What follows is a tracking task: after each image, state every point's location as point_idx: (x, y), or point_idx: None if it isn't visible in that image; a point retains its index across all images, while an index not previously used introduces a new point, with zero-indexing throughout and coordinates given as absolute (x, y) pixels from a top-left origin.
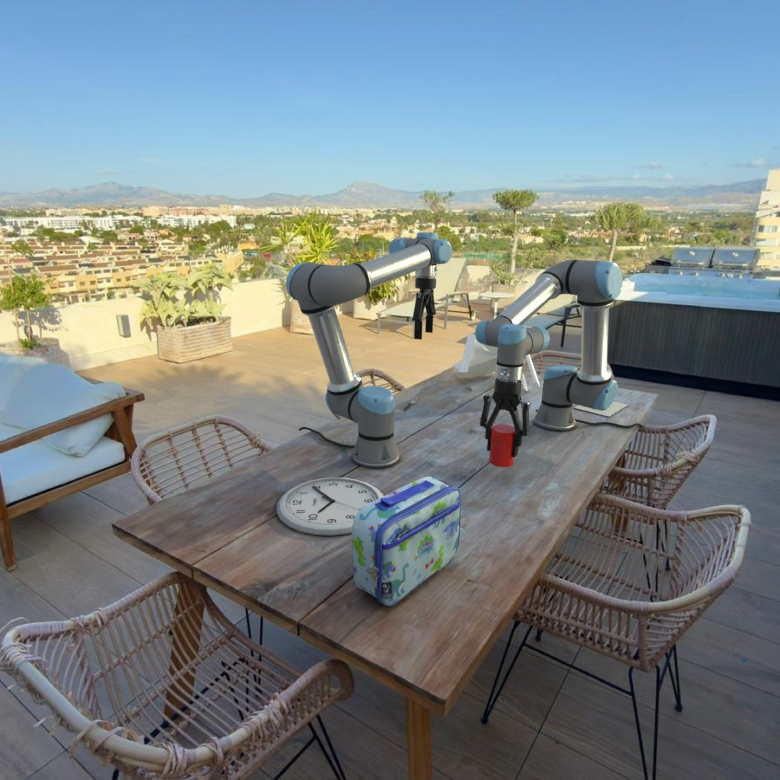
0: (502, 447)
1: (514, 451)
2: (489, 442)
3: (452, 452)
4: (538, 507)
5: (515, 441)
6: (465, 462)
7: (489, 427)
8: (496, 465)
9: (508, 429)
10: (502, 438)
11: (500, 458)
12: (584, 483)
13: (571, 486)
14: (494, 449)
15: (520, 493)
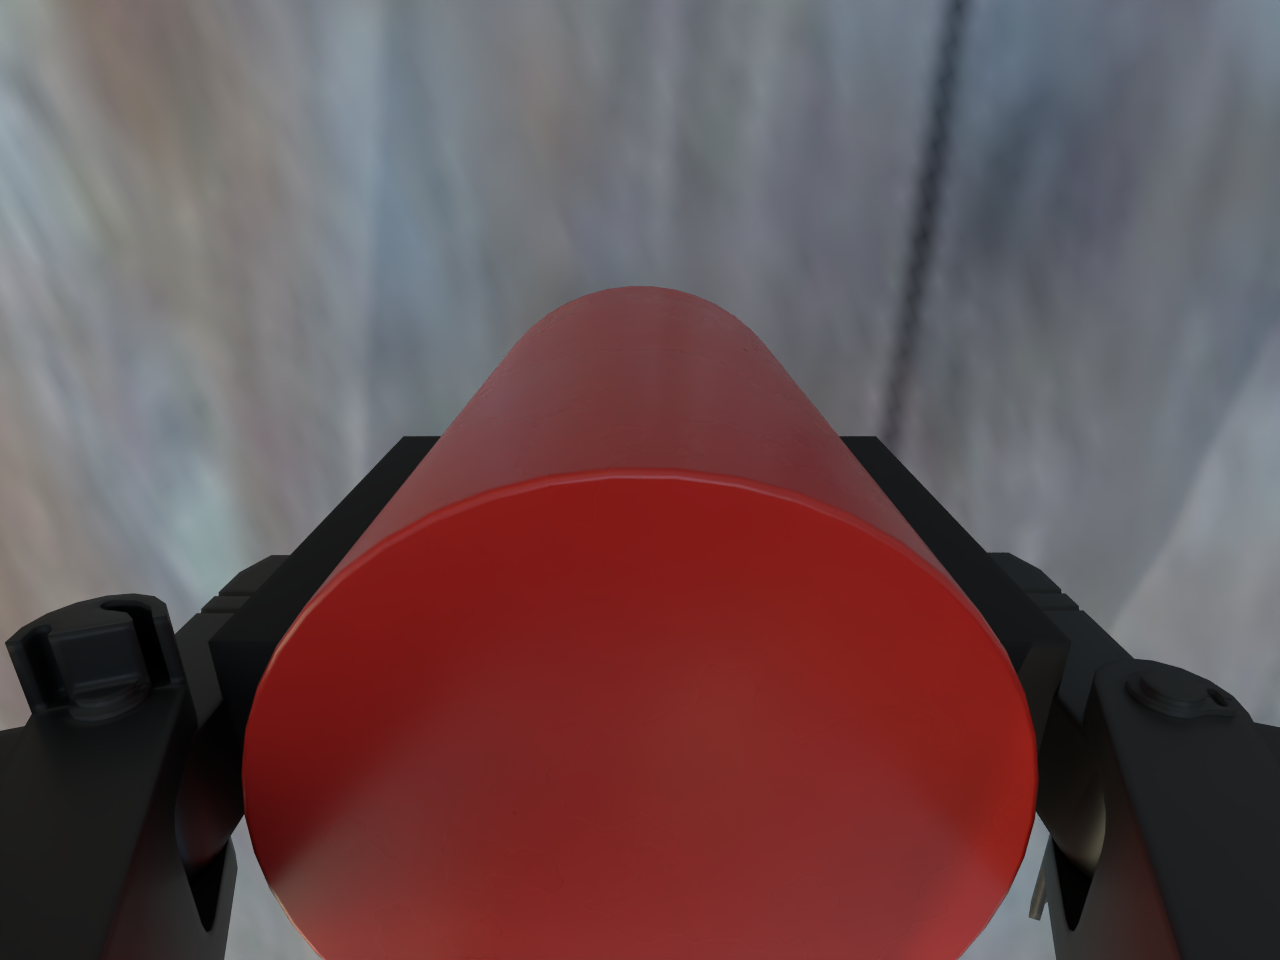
0: (548, 357)
1: (378, 474)
2: (891, 497)
3: (1226, 658)
4: (58, 25)
5: (285, 569)
6: (1057, 540)
7: (1106, 719)
8: (645, 289)
9: (491, 837)
10: (538, 420)
11: (588, 312)
12: None
13: None
14: (719, 339)
15: (351, 225)
